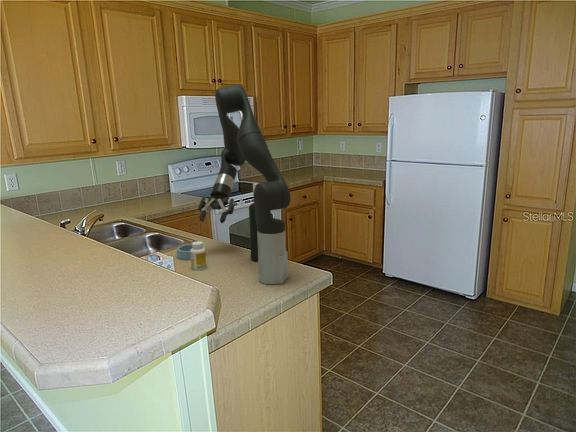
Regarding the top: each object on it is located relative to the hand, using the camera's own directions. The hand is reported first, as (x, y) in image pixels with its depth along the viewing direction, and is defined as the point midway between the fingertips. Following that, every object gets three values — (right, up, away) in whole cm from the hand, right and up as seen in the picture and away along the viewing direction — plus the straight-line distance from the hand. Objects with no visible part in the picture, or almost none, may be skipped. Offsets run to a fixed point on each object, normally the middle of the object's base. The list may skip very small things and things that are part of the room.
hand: (211, 221), depth 154 cm
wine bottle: (+18, -15, +1) cm, 24 cm away
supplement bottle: (-3, -17, -7) cm, 19 cm away
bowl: (-10, -14, +6) cm, 18 cm away
